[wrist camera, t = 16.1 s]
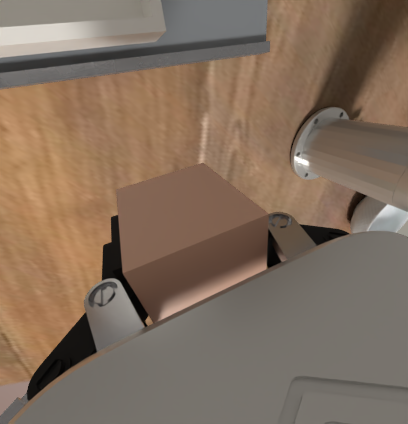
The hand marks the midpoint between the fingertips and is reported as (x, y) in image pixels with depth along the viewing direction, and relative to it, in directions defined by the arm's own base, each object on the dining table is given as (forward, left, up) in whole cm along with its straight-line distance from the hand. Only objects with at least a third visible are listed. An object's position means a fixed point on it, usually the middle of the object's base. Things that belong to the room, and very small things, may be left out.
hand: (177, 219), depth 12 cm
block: (0, 0, -1) cm, 1 cm away
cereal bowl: (-53, +29, -18) cm, 63 cm away
